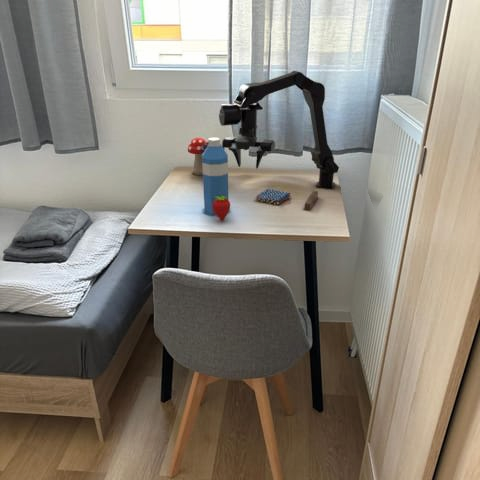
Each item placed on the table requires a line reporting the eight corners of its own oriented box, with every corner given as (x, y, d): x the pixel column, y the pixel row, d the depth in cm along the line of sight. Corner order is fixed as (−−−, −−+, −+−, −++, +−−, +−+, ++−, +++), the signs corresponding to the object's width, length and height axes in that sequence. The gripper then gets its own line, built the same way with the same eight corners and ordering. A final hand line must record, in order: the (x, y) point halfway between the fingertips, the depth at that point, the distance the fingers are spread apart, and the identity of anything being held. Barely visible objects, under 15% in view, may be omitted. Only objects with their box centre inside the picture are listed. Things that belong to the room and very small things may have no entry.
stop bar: (312, 197, 187) (312, 190, 186) (317, 197, 187) (318, 191, 185) (304, 209, 176) (304, 203, 175) (309, 210, 176) (310, 203, 175)
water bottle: (233, 207, 178) (232, 136, 164) (224, 217, 171) (222, 143, 157) (209, 204, 181) (206, 134, 167) (199, 213, 174) (195, 141, 160)
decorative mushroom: (214, 171, 215) (213, 136, 206) (206, 177, 208) (204, 141, 200) (194, 169, 218) (192, 134, 209) (185, 175, 211) (183, 139, 203)
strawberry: (209, 223, 166) (207, 194, 161) (218, 215, 172) (217, 187, 167) (224, 225, 164) (224, 197, 159) (233, 218, 170) (233, 190, 165)
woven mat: (266, 192, 192) (267, 187, 191) (291, 197, 187) (291, 192, 186) (254, 200, 184) (254, 195, 183) (279, 205, 180) (279, 200, 179)
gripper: (216, 126, 170) (217, 171, 178) (267, 130, 165) (266, 176, 173) (227, 119, 178) (227, 163, 187) (276, 123, 173) (274, 167, 182)
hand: (248, 167), depth 182 cm, fingers open, 7 cm apart
